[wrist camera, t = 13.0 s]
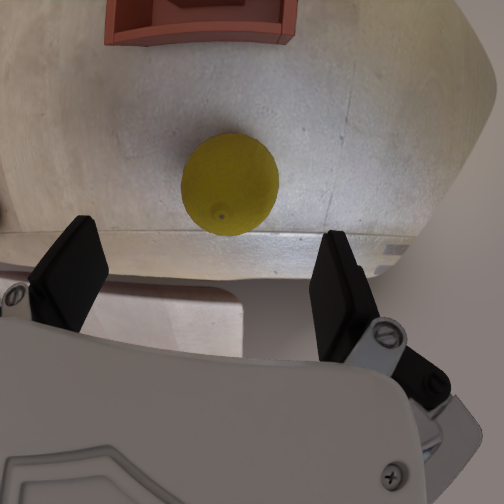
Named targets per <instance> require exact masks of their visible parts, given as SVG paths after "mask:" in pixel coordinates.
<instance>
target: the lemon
mask: <svg viewBox="0 0 504 504" xmlns="http://www.w3.org/2000/svg"><path fill="white" fill-rule="evenodd" d="M278 189H279V174H278V169H277V166H276V163H275V160H274V158H273V156H272V155H271V153H270V152H269V151H268V149H267V148H266V147H265V146H264V145H263V144H262V143H261V142H259V141H258V140H257V139H254V138H252V137H250V136H248V135H245V134H240V133H223V134H220V135H217V136H213V137H211V138H209V139H208V140H206V141H205V142H203V143H202V144H200V145H199V146H198V147H197V149H196V150H195V151H194V152H193V153H192V154H191V155H190V157H189V159H188V161H187V163H186V165H185V167H184V170H183V175H182V181H181V194H182V201H183V204H184V206H185V209H186V211H187V213H188V214H189V216H190V217H191V219H192V220H193V221H194V222H195V223H196V224H197V225H198V226H199V227H201V228H202V229H204V230H206V231H208V232H209V233H213V234H216V235H220V236H236V235H240V234H243V233H246V232H249V231H251V230H252V229H254V228H256V227H257V226H259V225H260V224H261V223H262V222H263V220H264V219H265V218H266V217H267V216H268V215H269V213H270V211H271V209H272V207H273V205H274V204H275V201H276V198H277V193H278Z"/></svg>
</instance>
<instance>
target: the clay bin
mask: <svg viewBox="0 0 504 504" xmlns="http://www.w3.org/2000/svg"><path fill="white" fill-rule="evenodd" d="M297 5H298V0H245V5H244V6H202V7H188V8H180V7H178V6H176V5H174V4H173V3H171V2H169V1H167V0H107V6H106V18H105V37H104V45H120V46H144V47H148V46H155V45H164V44H174V43H187V42H209V41H235V42H258V43H271V44H281V45H286V44H287V43H288V42H289V41H290V40H291V39H292V38H293V37H294V36H295V27H296V16H297Z"/></svg>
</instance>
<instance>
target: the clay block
mask: <svg viewBox="0 0 504 504" xmlns="http://www.w3.org/2000/svg"><path fill="white" fill-rule="evenodd" d="M167 1H169V2H171V3H173V4H174V5H176V6H178V7H180V8H188V7H202V6H244V5H245V0H167Z"/></svg>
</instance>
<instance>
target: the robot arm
mask: <svg viewBox="0 0 504 504" xmlns="http://www.w3.org/2000/svg"><path fill="white" fill-rule="evenodd" d="M108 273H109V268H108V264H107V261H106V258H105V255H104V252H103V248H102V245H101V242H100V238H99V235H98V231H97V227H96V224H95V221H94V220H93V219H92V218H91V216H86V215H79V216H77V217H76V218H75V219H74V220H73V221H72V222H71V223H70V225H69V226H68V227H67V228H66V229H65V230H64V232H63V233H62V234H61V235H60V236H59V238H58V239H57V240H56V241H55V243H54V244H53V245H52V246H51V248H50V249H49V250H48V251H47V253H46V254H45V255H44V257H43V258H42V259H41V260H40V262H39V263H38V264H37V266H36V267H35V269H34V270H33V271H32V273H31V274H30V276H29V277H28V280H29V282H30V286H29V287H28V285H27V284H26V283H23V282H20V283H16V284H14V285H12V286H11V287H9V288H8V289H7V290H6V292H5V293H4V295H3V297H2V306H1V307H0V504H432V503H434V502H435V500H436V499H437V498H438V497H439V496H440V495H441V494H442V493H443V492H444V491H445V490H446V488H447V487H448V486H449V485H450V484H451V483H452V482H453V480H454V479H455V478H456V477H457V476H458V475H459V473H460V472H461V471H462V470H463V468H464V467H465V466H466V464H467V463H468V462H469V461H470V459H471V458H472V456H473V455H474V454H475V452H476V451H477V449H478V448H479V447H480V444H481V442H482V437H483V435H482V429H481V427H480V425H479V424H478V423H477V421H476V420H475V419H474V417H473V416H472V415H471V413H470V412H469V411H468V409H467V408H466V407H465V406H464V404H463V403H462V402H461V400H460V399H459V398H458V397H457V395H454V396H452V395H451V393H450V392H451V384H450V381H449V378H448V377H447V375H446V374H445V373H444V372H443V371H442V370H440V369H439V368H438V367H436V366H434V364H432V363H431V362H429V361H428V360H426V359H425V358H424V357H422V356H421V355H419V354H418V353H416V352H415V351H414V350H412V349H411V348H410V347H408V346H407V345H406V344H407V334H406V332H405V330H404V328H403V327H402V326H401V324H399V323H398V322H397V321H396V320H393V319H391V318H387V317H380V315H379V312H378V309H377V306H376V303H375V300H374V298H373V295H372V292H371V289H370V286H369V284H368V281H367V278H366V276H365V273H364V270H363V268H362V267H361V266H358V265H357V263H356V260H355V258H354V255H353V252H352V250H351V247H350V245H349V242H348V240H347V237H346V235H345V233H344V232H343V231H335V230H329V231H328V234H327V233H324V234H323V237H322V241H321V244H320V248H319V252H318V256H317V259H316V263H315V267H314V270H313V274H312V277H311V281H310V286H309V294H310V299H311V306H312V313H313V319H314V326H315V333H316V340H317V348H318V355H319V361H320V362H317V361H292V360H271V359H252V358H238V357H226V356H215V355H205V354H196V353H188V352H180V351H172V350H165V349H159V348H152V347H146V346H140V345H134V344H129V343H123V342H118V341H113V340H108V339H103V338H99V337H94V336H90V335H85V334H81V333H79V332H80V330H81V328H82V325H83V323H84V321H85V319H86V317H87V315H88V313H89V311H90V309H91V307H92V305H93V303H94V301H95V299H96V297H97V295H98V293H99V291H100V289H101V287H102V285H103V283H104V282H105V280H106V278H107V276H108Z"/></svg>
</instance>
